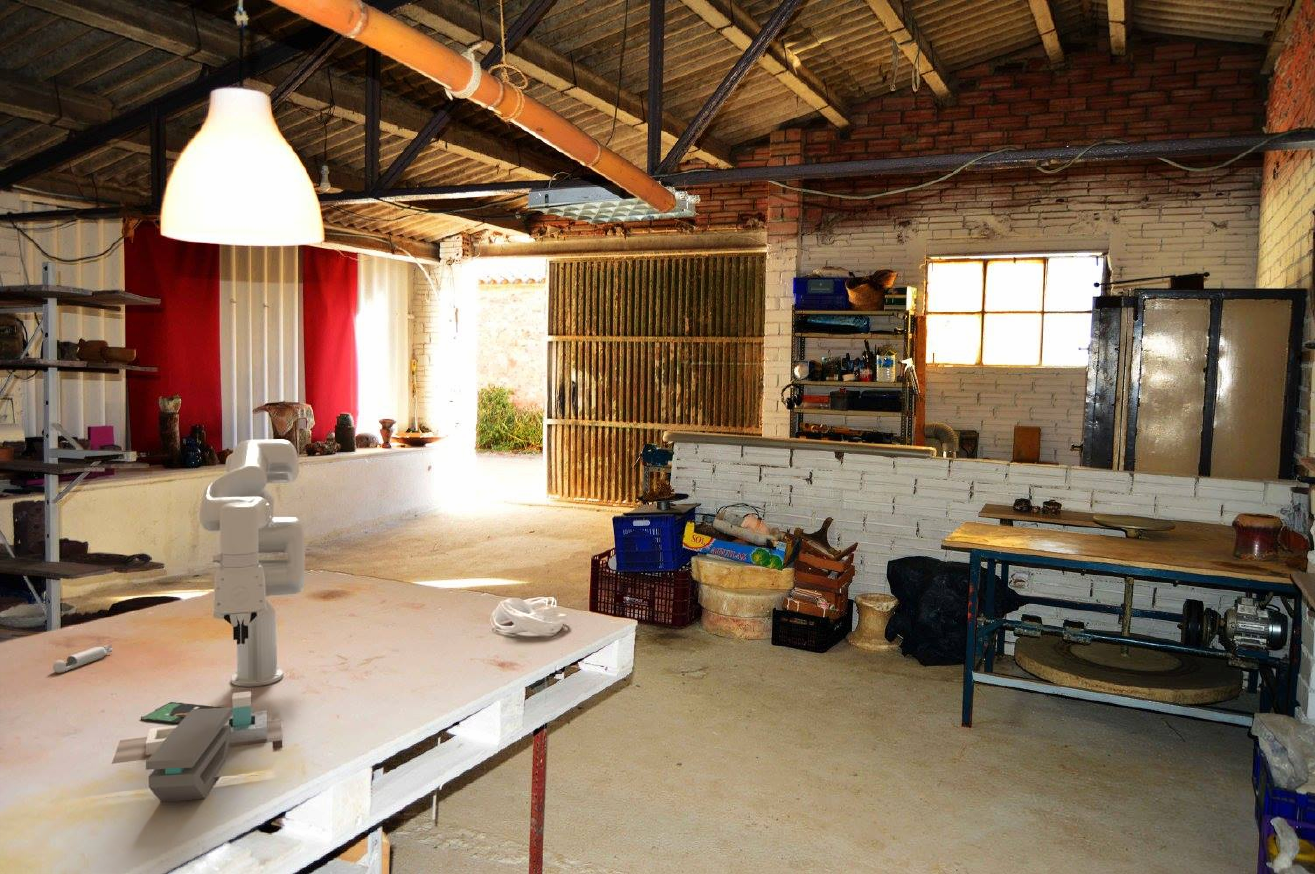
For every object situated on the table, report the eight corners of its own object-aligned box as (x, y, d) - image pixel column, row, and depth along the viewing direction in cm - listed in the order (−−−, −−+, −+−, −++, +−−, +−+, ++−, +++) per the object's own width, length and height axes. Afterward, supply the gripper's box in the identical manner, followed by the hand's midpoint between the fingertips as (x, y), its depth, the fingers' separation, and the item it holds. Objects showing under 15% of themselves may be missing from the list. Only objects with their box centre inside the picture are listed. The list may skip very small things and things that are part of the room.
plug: (233, 732, 199) (232, 693, 199) (251, 730, 201) (250, 691, 200) (233, 739, 196) (232, 698, 195) (251, 736, 198) (250, 696, 197)
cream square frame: (150, 739, 195) (150, 728, 195) (192, 734, 198) (192, 723, 198) (146, 754, 187) (145, 743, 187) (190, 748, 191) (190, 737, 191)
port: (217, 729, 201) (217, 716, 201) (266, 723, 205) (266, 710, 205) (216, 747, 192) (215, 733, 192) (267, 740, 196) (267, 726, 196)
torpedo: (63, 675, 237) (62, 651, 237) (48, 674, 238) (47, 649, 238) (118, 654, 255) (118, 632, 254) (104, 653, 256) (104, 630, 255)
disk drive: (226, 718, 213) (170, 712, 215) (226, 706, 212) (170, 700, 215) (196, 736, 202) (138, 729, 205) (196, 723, 202) (137, 717, 205)
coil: (553, 643, 275) (555, 613, 274) (478, 635, 279) (479, 605, 278) (575, 622, 299) (577, 594, 299) (506, 614, 303) (507, 587, 303)
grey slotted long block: (193, 816, 166) (192, 759, 165) (147, 819, 165) (145, 761, 164) (232, 757, 191) (232, 707, 190) (192, 759, 189) (191, 709, 188)
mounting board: (120, 747, 194) (119, 740, 194) (281, 726, 207) (281, 719, 207) (111, 770, 183) (111, 763, 183) (282, 746, 196) (282, 739, 196)
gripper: (199, 566, 189) (201, 651, 191) (277, 561, 195) (278, 643, 197) (201, 558, 196) (203, 640, 197) (276, 553, 202) (277, 633, 204)
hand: (240, 642), depth 197 cm, fingers closed
